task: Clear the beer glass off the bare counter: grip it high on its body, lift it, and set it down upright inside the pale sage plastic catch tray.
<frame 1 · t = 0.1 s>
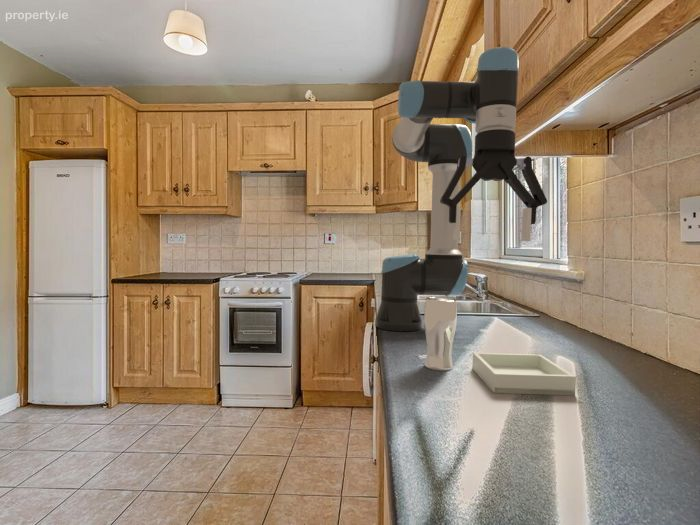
hand: (490, 240, 81), 28 cm above the countertop, fingers open, 13 cm apart
beer glass: (438, 367, 90), on the countertop
catch tray: (519, 380, 82), on the countertop
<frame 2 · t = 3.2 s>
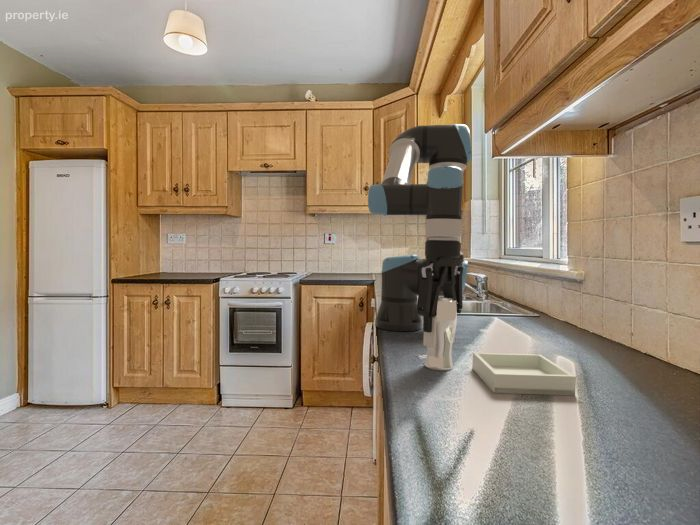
hand: (439, 343, 90), 5 cm above the countertop, fingers closed on beer glass, 7 cm apart
beer glass: (438, 367, 90), on the countertop, touching gripper
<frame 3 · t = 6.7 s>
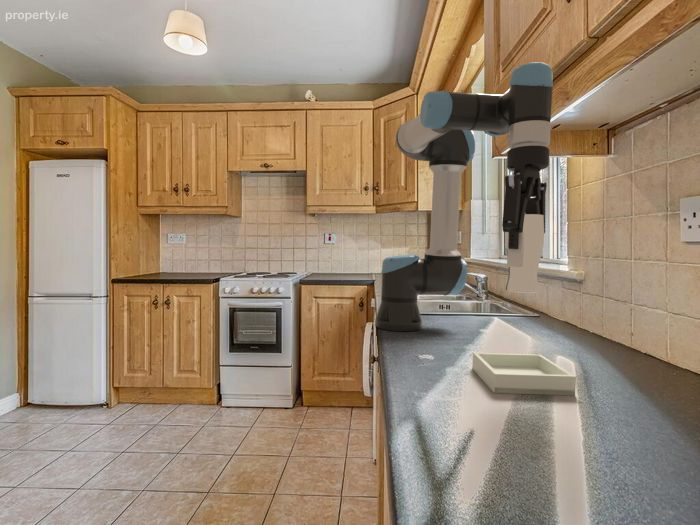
hand: (523, 266, 80), 23 cm above the countertop, fingers closed on beer glass, 7 cm apart
beer glass: (522, 292, 81), point 18 cm above the countertop, touching gripper
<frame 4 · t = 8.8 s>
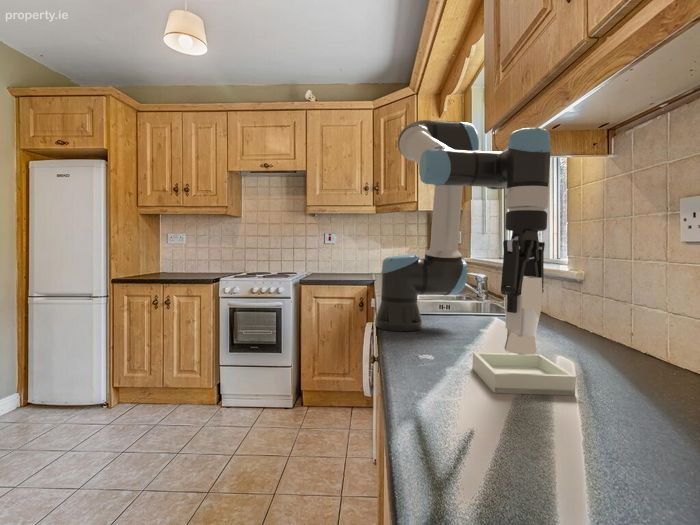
hand: (521, 326, 81), 11 cm above the countertop, fingers closed on beer glass, 7 cm apart
beer glass: (520, 352, 81), point 6 cm above the countertop, touching gripper
when the fingers open (7 cm above the countertop, at t = 10.5 s): beer glass stays where it is, resting on catch tray.
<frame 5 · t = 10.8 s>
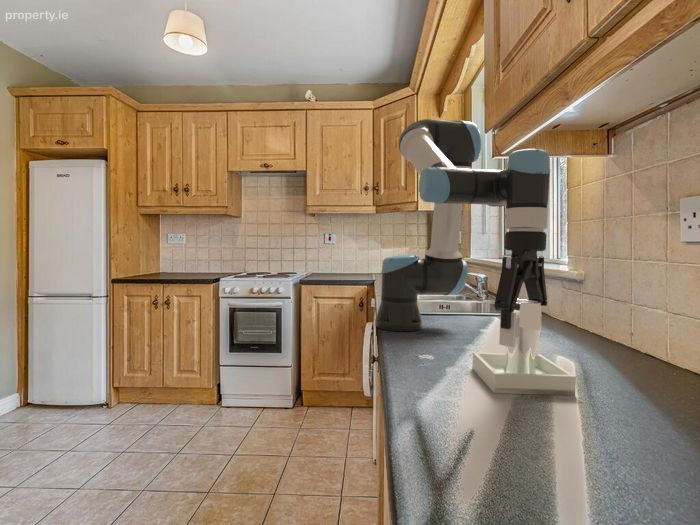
hand: (520, 340, 81), 8 cm above the countertop, fingers open, 11 cm apart
beer glass: (519, 376, 82), point 1 cm above the countertop, touching catch tray
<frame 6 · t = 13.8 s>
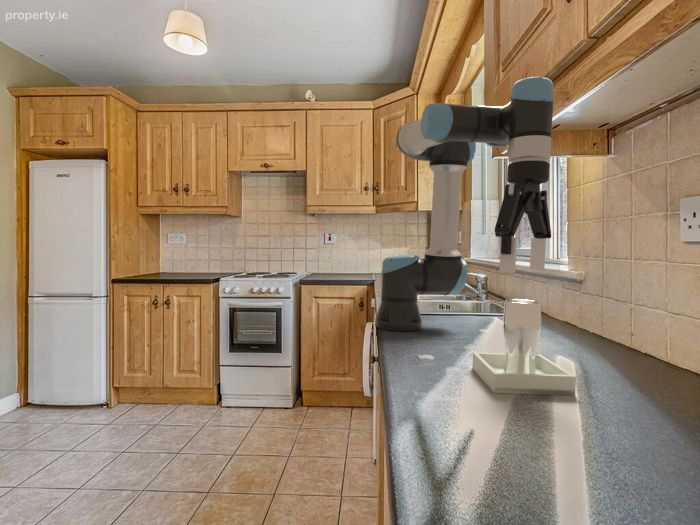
hand: (522, 271, 81), 22 cm above the countertop, fingers open, 13 cm apart
nothing on the countertop moved.
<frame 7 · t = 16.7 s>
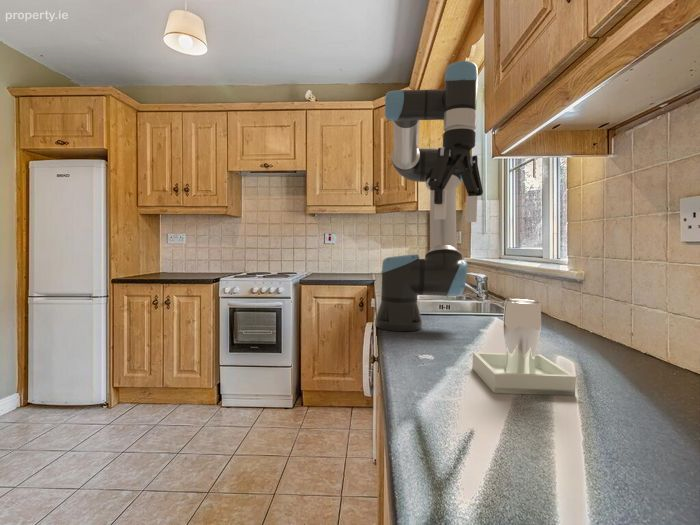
hand: (456, 220, 98), 33 cm above the countertop, fingers open, 13 cm apart
nothing on the countertop moved.
at the end: beer glass inside the target area on the catch tray (0.2 cm from its centre), point 0.8 cm above the catch tray's base; beer glass tilted 0°; the gripper is holding nothing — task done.
